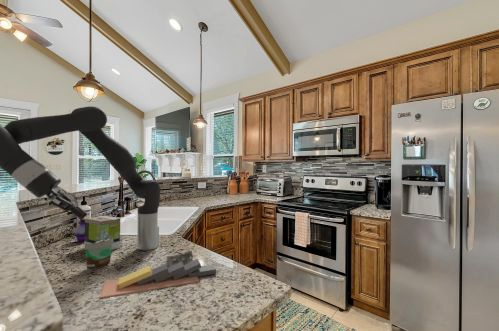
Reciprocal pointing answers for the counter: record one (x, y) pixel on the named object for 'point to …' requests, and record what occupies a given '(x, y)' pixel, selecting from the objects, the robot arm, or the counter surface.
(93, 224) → the tea box
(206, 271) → the charcoal domino
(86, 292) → the counter surface
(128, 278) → the ochre domino
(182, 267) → the charcoal domino
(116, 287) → the terracotta mat
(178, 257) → the egg carton
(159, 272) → the charcoal domino
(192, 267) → the charcoal domino
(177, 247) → the counter surface
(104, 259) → the food container
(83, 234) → the potion bottle
